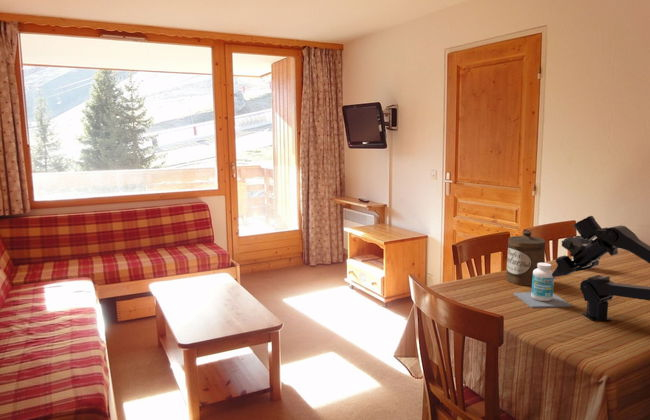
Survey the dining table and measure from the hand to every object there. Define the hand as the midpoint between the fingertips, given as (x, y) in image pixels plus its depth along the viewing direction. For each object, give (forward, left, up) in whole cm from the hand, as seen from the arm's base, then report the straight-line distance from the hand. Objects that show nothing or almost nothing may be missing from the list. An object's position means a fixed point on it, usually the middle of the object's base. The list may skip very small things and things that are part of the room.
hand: (560, 273), depth 172 cm
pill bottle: (+6, +3, -12) cm, 13 cm away
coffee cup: (+47, -37, -12) cm, 61 cm away
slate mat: (+6, +3, -12) cm, 14 cm away
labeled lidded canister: (+30, -2, -12) cm, 32 cm away
